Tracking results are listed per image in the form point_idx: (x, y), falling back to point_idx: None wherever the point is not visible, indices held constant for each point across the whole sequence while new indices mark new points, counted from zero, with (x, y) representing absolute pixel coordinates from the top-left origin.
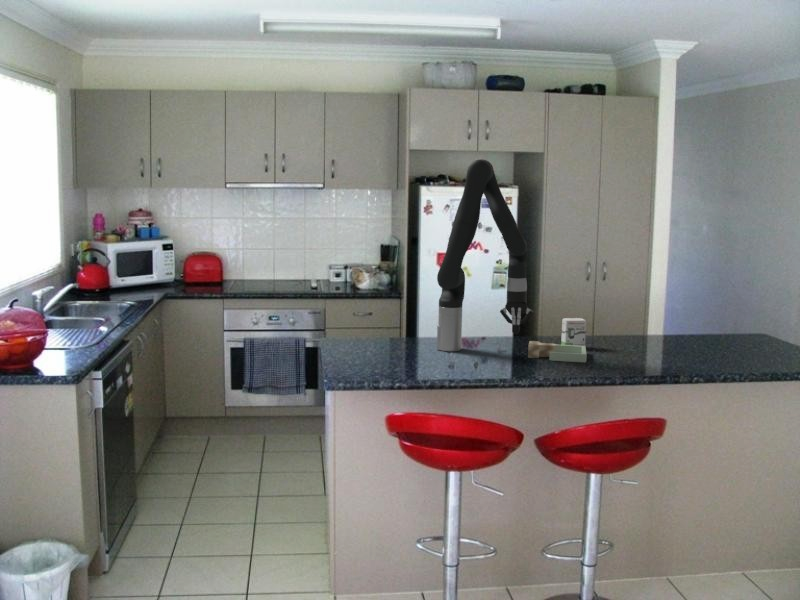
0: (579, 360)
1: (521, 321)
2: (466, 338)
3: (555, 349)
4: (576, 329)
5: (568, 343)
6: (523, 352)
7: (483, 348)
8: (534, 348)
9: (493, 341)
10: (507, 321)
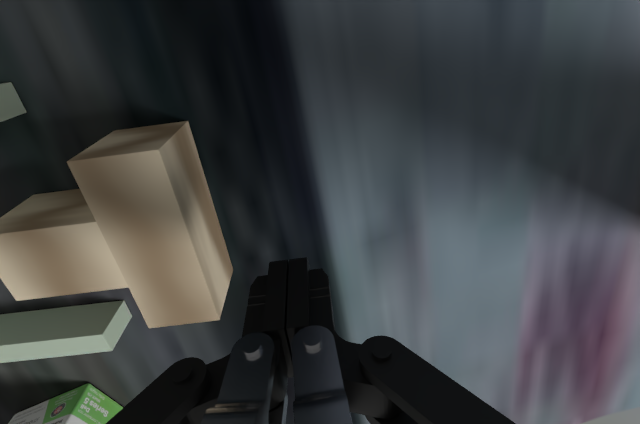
0: None
1: (203, 380)
2: (575, 415)
3: (84, 317)
4: None
5: (60, 414)
6: (261, 252)
7: (503, 266)
8: (115, 150)
9: None
10: (405, 351)
